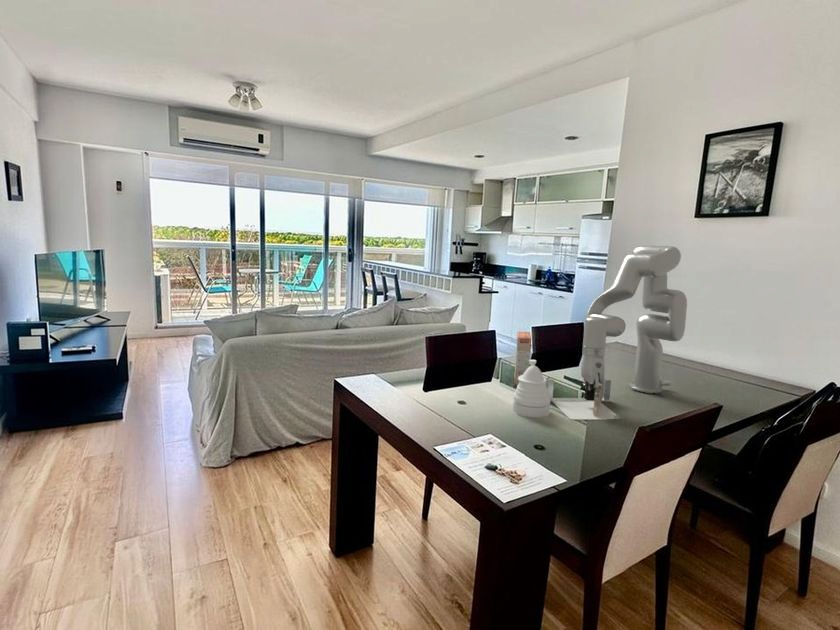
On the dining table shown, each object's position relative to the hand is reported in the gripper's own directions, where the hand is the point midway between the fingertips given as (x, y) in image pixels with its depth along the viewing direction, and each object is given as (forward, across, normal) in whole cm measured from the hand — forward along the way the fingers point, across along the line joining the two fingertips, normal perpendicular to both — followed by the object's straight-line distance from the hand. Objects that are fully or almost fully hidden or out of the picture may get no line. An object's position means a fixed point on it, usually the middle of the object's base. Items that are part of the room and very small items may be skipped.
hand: (589, 399), depth 167 cm
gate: (+2, -1, -3) cm, 4 cm away
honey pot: (+3, -3, +23) cm, 23 cm away
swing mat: (+3, -3, +3) cm, 5 cm away
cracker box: (+3, +31, +17) cm, 35 cm away
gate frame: (+3, +7, +2) cm, 8 cm away
